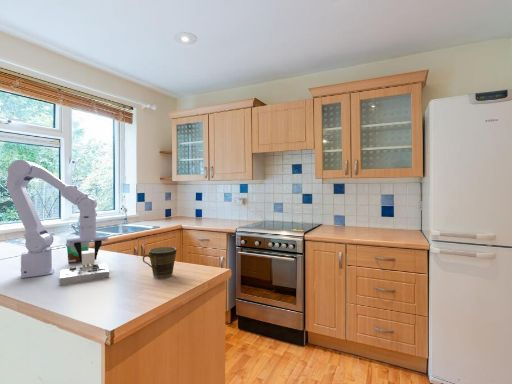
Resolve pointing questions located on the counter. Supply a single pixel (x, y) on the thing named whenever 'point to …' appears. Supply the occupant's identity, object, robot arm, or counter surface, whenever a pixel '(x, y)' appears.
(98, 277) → the socket
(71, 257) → the food container
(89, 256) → the plug
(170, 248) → the ceramic cup
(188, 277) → the counter surface
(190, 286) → the counter surface
